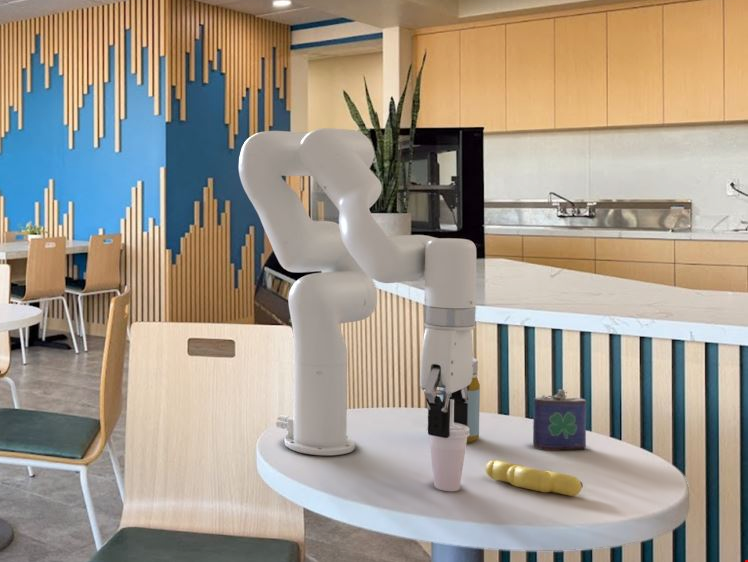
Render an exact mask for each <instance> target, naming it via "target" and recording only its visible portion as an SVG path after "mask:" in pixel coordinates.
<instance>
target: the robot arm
mask: <svg viewBox="0 0 748 562" xmlns="http://www.w3.org/2000/svg"><path fill="white" fill-rule="evenodd" d="M374 158H375V150H374V146H373V144H372V141H371V140H370V139H369V138H368V137H367V135H365V134H364V133H363V132H361V131H359V130H355V129H346V128H329V127H327V128H326V127H325V128H318V129H314V130H312V131H310V132H305V131H304V132H303V131H286V130H266V131H260V132H257V133H254V134H253V135H251V136H250V137H248V138H247V139H246V140H245V141H244V143H243V145H242V146H241V150H240V153H239V158H238V174H239V175H238V176H239V179H240V182H241V185H242V188H243V190H244V193H245V194H246V196H247V197H248V199H249V201H250V202H251V204H252V205H253V208H254V210H255V211H256V213H257V215H258V217H259V220H260V223H261V224H262V227H263V230H264V232H265V235H266V236H267V239H268V241H269V243H270V245H271V248H272V250H273V253H274V255H275V257H276V259H277V261H278V264H279V265H280V266H281V267H282V268H283V269H284V270H286V271H287V272H290V273H310V274H306V275H304V276H301V277H300V278H297V280H296V281H295V282H294V283H293V284H292V286H291V287H290V289H289V293H288V298H287V299H288V310H289V315H290V320H291V327H292V339H293V340H292V342H293V401H292V402H293V405H292V407H293V408H292V409H293V410H292V411H293V412H292V414H293V416H292V417H290V416H289V415H283V414H279V415H278V417H277V420H276V422H275V426H276V428H278V429H282V430H283V429H285V430H286V431H287V434H286V435H285V436H284V445H285V447H287V448H288V449H289V450H292V451H294V452H297V453H301V454H306V455H311V456H312V455H313V456H340V455H345V454H349V453H351V452H353V451H354V450H355V449H356V441H355V439H354V438H352V437H351V436H348V435H347V425H348V424H347V422H348V421H347V420H348V418H347V417H348V416H347V415H348V412H347V410H348V407H347V406H348V350H347V343H346V340H345V337H344V335H343V333H342V330H341V327H340V325H341V324H347V323H354V322H355V323H356V322H360V321H363V320H366V319H368V318H369V317H370V316H371V315H373V313H374V312H375V310H376V308H377V306H378V305H377V304H378V292H377V287H376V285H375V282H374V280H375V281H376V282H378V283H382V284H395V283H396V284H397V283H404V282H405V283H406V282H419V281H424V305H423V306H424V308H423V312H424V313H423V326H424V332H423V333H424V334H423V340H422V347H421V356H420V357H421V359H420V372H419V373H420V375H419V387H420V389H421V390H423V393H424V396H425V400H426V403H427V404H426V409H427V424H428V432H427V434H428V436H429V435H432V436H437V437H443V438H448V437H449V436H450V400H449V399H454V422H455V423H460V424H463V425H466V426H467V425H468V403H467V402H468V400H469V396H468V389H469V385H470V384H471V382H472V376H473V358H474V348H473V347H474V346H473V332H472V330H475V329H476V313H477V312H476V311H477V309H476V306H477V305H476V304H477V303H476V302H477V301H476V299H477V247H476V244H475V243H474V242H473V241H472V240H470V239H466V238H455V237H454V238H451V237H450V238H449V237H446V238H445V237H444V238H443V237H441V238H439V237H434V236H431V235H424V234H410V235H409V234H402V235H401V234H400V235H388V233H387V232H386V231H385V230H384V229H383V228H382V227H381V225H380V224H379V223H378V222H377V220H376V219H375V217H374V216H373V214H372V212H371V211H370V209H371V208H372V206H373V205H374V204H376V202H377V201H378V199H379V198H380V196H381V193H382V191H383V185H382V183H381V180H380V179H379V178H378V176H377V175H376V174H375V173H374V172H373V171H372V169H370V168H371V167H372V165H373V163H374ZM283 176H284V177H285V176H286V177H312V178H313V179H314V181H315V182H316V184H318V185H319V187H320V189H322V191H323V192H324V193H325V195H326V196H327V197H328V198H329V200H330V201H331V203H333V205H334V207H336V208H337V210H338V212H339V214H338V222H334V221H329V220H313V219H312V218H311V217H310V215H309V214H308V212H307V210H306V208H305V206H304V204H303V202H302V199H301V198H300V196H299V194H298V193H297V191H295V189H293V187H292V186H290V184H288V183H287V181H286V180H284V179H283ZM440 387H441V388H445V389H444V391H442V390H440V389H438V388H440ZM440 395H441V396H443V401H441V399H440ZM464 402H466V403H464Z"/></svg>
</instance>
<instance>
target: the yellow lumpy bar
mask: <svg viewBox="0 0 748 562" xmlns="http://www.w3.org/2000/svg"><path fill="white" fill-rule="evenodd" d="M485 472H486V475H487V476H488V477H489V478H491V479H492V480H497V481H501V482H504V483H505V482H506V483H509V484H511V486H514V487H517V488H522V489H527V490H531V491H535V492H536V491H537V492H541V493H549V492H551V493H555V494H561V495H565V496H570V497H572V496H573V497H574V496H577V495H579V494H580V493H581V491H582V488H583V487H584V485H583V482H582V481H581V480H580V479H579V478H578V477H576V476H575V475H570V474H565V473H561V472H556V471H552V470H544V469H543V470H542V469H538V468H537V469H536V468H532V467H527V466H523V465H521V464H516V463H512V462H507V461H503V460H496V459H495V460H494V459H493V460H490V461H488V462H487V463H486V465H485Z"/></svg>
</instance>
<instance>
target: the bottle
mask: <svg viewBox="0 0 748 562" xmlns="http://www.w3.org/2000/svg"><path fill="white" fill-rule="evenodd" d="M478 368H479V361H478V359H477V358H475V357H473V376H472V382H471V384H470V385H469V389H468V396H469V400H468V402H467V403H468V425H467V427H469V433H470V435H469V436H468V437H467V442H466V444H469V443H473V442H476V441H477V440H478V439H479V437H480V402H481V401H480V400H481V397H480V396H481V386H480V385H481V384H480V382H479V378H478V371H479V369H478ZM444 389H445V388H441V387H439V390H442V391H444ZM439 397H440V399H441V401H443V396H441V395H439ZM449 400H450V399H449ZM464 403H466V402H464Z"/></svg>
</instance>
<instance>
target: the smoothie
mask: <svg viewBox="0 0 748 562" xmlns="http://www.w3.org/2000/svg"><path fill="white" fill-rule="evenodd" d="M425 431H426V432H427V433H428V423H427V424H426V430H425ZM469 435H470V433H469V427H467V426H466V425H463V424H460V423H455V422H454V399H450V436H449V437H448V438H443V437H437V436H432V435H429V434H428V438H429V448H430V457H431V466H432V475H433V483H434V488H436V489H437V490H440V491H444V492H458V491H460V489H461V482H462V474H463V469H464V468H463V467H464V461H465V454H466V448H467V443H466V442H467V437H468V436H469Z"/></svg>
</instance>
